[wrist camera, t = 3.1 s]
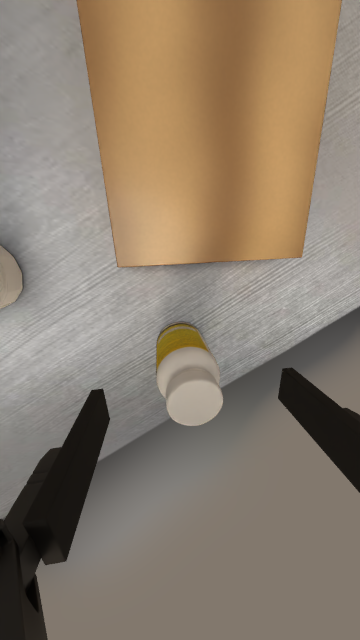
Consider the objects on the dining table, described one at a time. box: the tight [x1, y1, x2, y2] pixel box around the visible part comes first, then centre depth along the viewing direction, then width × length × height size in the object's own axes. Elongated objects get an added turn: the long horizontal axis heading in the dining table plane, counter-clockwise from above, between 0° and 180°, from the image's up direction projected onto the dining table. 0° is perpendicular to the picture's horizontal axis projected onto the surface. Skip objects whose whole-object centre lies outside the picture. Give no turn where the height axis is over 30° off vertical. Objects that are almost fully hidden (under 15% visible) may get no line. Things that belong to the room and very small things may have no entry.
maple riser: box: [77, 0, 342, 267], centre depth 14 cm, size 16×18×4 cm
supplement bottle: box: [156, 322, 223, 426], centre depth 17 cm, size 5×5×10 cm
